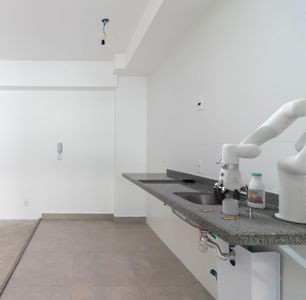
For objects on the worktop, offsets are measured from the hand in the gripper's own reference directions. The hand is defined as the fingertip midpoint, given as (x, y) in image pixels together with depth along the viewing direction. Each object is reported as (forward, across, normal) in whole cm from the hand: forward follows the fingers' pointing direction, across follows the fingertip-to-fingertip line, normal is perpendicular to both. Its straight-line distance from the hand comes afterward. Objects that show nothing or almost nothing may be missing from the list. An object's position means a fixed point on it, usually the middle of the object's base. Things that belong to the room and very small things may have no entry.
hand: (228, 199), depth 109 cm
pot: (+7, +1, 0) cm, 7 cm away
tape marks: (+7, -7, 0) cm, 10 cm away
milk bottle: (+7, +28, +6) cm, 29 cm away
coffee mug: (+7, +14, +18) cm, 24 cm away
